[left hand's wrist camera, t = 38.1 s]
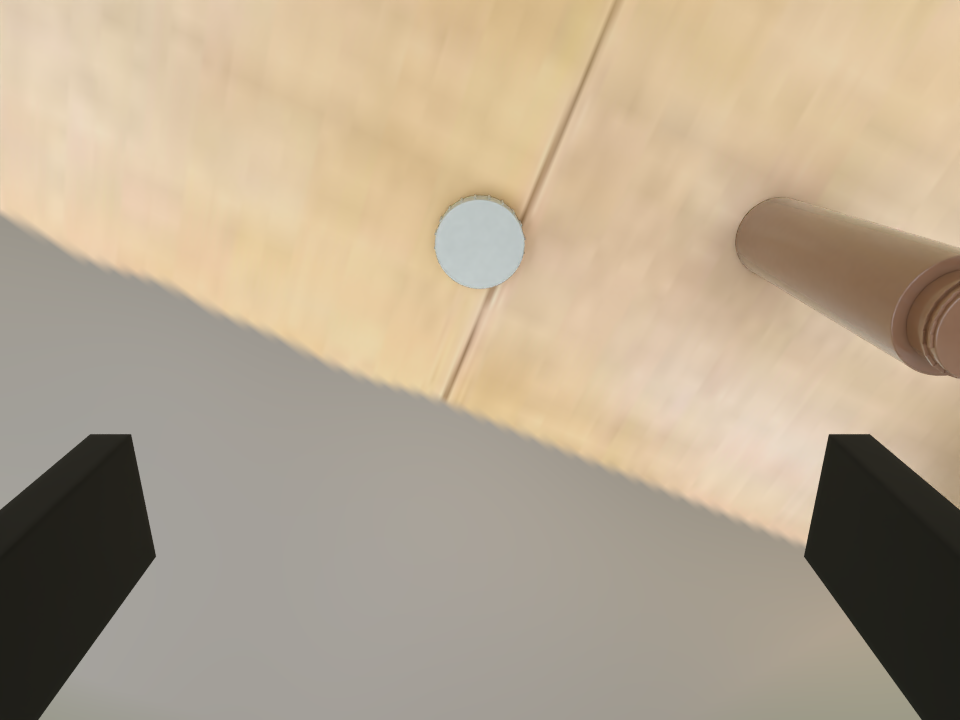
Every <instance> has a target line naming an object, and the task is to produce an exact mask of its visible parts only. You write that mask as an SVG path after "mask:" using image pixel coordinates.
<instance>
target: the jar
mask: <svg viewBox="0 0 960 720" xmlns="http://www.w3.org/2000/svg"><path fill="white" fill-rule="evenodd" d="M736 250H737V254H738V256H739V259H740V260H741V262H742V263H743V265H744V266H745V267H746V268H747V269H749V270H750V271H752V272H753V273H755V274H757V275H758V276H760V277H762V278H763V279H765V280H766V281H768V282H770V283H771V284H773V285H775V286H776V287H778V288H780V289H781V290H783V291H785V292H786V293H788V294H790V295H791V296H793V297H795V298H796V299H798V300H800V301H801V302H803V303H804V304H806V305H808V306H809V307H811V308H813V309H814V310H816V311H818V312H819V313H821V314H823V315H824V316H826V317H828V318H829V319H831V320H833V321H834V322H836V323H838V324H839V325H841V326H842V327H844V328H846V329H847V330H849V331H851V332H852V333H854V334H856V335H857V336H859V337H861V338H862V339H864V340H866V341H867V342H869V343H871V344H872V345H874V346H876V347H877V348H879V349H880V350H882V351H884V352H885V353H887V354H889V355H890V356H892V357H894V358H895V359H897V360H899V361H900V362H902V363H904V364H905V365H907V366H909V367H910V368H912V369H914V370H916V371H918V372H920V373H924V374H928V375H935V376H946V375H949V376H952V377H955V378H960V248H959V247H955V246H952V245H948V244H945V243H942V242H938V241H935V240H931V239H928V238H925V237H921V236H918V235H914V234H911V233H908V232H904V231H901V230H897V229H894V228H891V227H887V226H884V225H880V224H877V223H873V222H870V221H867V220H863V219H860V218H856V217H853V216H850V215H846V214H843V213H839V212H836V211H833V210H829V209H826V208H822V207H819V206H816V205H812V204H809V203H805V202H802V201H798V200H795V199H791V198H786V197H778V198H772V199H768V200H766V201H763V202H762V203H760V204H758V205H757V206H755V207H754V208H753V209H752V210H750V211H749V212H748V214H747V215H746V216H745V217H744V219H743V220H742V222H741V224H740V226H739V229H738V232H737V236H736Z"/></svg>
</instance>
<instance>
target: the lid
mask: <svg viewBox="0 0 960 720" xmlns="http://www.w3.org/2000/svg"><path fill="white" fill-rule="evenodd" d="M521 226H522V224H521V221H519V220H518V218H517V216H516V215H515V212H514V210H513V209H512V210H511V208H510V207H508V206H507V205H506V204H505V203H504V202H503V200H501V201H500V200H498V199H496V198H493V197H490V195H488V196H482V195H477V196H476V194H474V196H470V197H467V198H464V199H463V198H461V200H460V201H458V202H456V203H455V204H453V205H452V206H451V205H450V206H449V208H448V210H447V211H446V213H445V214H444V216H443V217H442V216H441V218H440V224H439V226H438V229H436V232H435V235H436V238H435V247H434V249H435V251H436V255H437V259H438V262H439V264H440V265H441V267H442V269H443V270H444V272H445V273H446V274H447V275H448V276H449V277H450V278H451V279H453V280H454V281H455V282H457V283H459V284H461V285H463V286H466V287H469V288H475V289H484V288H490V287H494V286H496V285H499V284H501V283H503V282H504V281H506V280H507V279H508V278H509V277H510V276H512V274H513V273H514V272H515V271H516V270H517V268H518V267H519V265H520V263H521V260H522V257H523V254H524V245H525V243H524V240H525V236H524V234H523V231H522V228H521Z"/></svg>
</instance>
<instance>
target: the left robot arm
mask: <svg viewBox="0 0 960 720" xmlns="http://www.w3.org/2000/svg"><path fill="white" fill-rule="evenodd" d="M155 557H156V554H155V549H154V545H153V540H152V535H151V530H150V525H149V520H148V515H147V510H146V505H145V500H144V496H143V491H142V486H141V481H140V476H139V471H138V466H137V461H136V456H135V451H134V447H133V442H132V437H131V434H90V435H89V436H88V437H87V438H85V439H84V440H83V441H82V442H81V443H79V444H78V445H77V446H76V447H75V448H73V449H72V450H71V451H70V452H69V453H67V454H66V455H65V456H64V457H63V458H62V459H60V460H59V461H58V462H57V463H56V464H54V465H53V466H52V467H51V468H50V469H48V470H47V471H46V472H45V473H44V474H42V475H41V476H40V477H39V478H38V479H37V480H35V481H34V482H33V483H32V484H31V485H29V486H28V487H27V488H26V489H25V490H23V491H22V492H21V493H20V494H19V495H18V496H16V497H15V498H14V499H13V500H12V501H10V502H9V503H8V504H7V505H6V506H4V507H3V508H2V509H1V510H0V720H38V719H39V718H40V717H41V715H42V714H43V712H44V711H45V710H46V708H47V707H48V705H49V704H50V703H51V701H52V700H53V699H54V697H55V696H56V694H57V693H58V692H59V690H60V689H61V687H62V686H63V685H64V683H65V682H66V680H67V679H68V678H69V676H70V675H71V673H72V672H73V671H74V669H75V668H76V667H77V665H78V664H79V662H80V661H81V660H82V658H83V657H84V656H85V654H86V653H87V651H88V650H89V649H90V647H91V646H92V644H93V643H94V642H95V640H96V639H97V637H98V636H99V635H100V633H101V632H102V631H103V629H104V628H105V626H106V625H107V624H108V622H109V621H110V619H111V618H112V617H113V615H114V614H115V612H116V611H117V610H118V608H119V607H120V606H121V604H122V603H123V601H124V600H125V599H126V597H127V596H128V594H129V593H130V592H131V590H132V589H133V588H134V586H135V585H136V583H137V582H138V581H139V579H140V578H141V576H142V575H143V574H144V572H145V571H146V570H147V568H148V567H149V565H150V564H151V563H152V561H153V560H154V558H155ZM804 557H805V558H806V560H807V561H808V563H809V564H810V565H811V567H812V568H813V570H814V571H815V572H816V574H817V575H818V576H819V578H820V579H821V581H822V582H823V583H824V585H825V586H826V588H827V589H828V590H829V592H830V593H831V595H832V596H833V597H834V599H835V600H836V601H837V603H838V604H839V606H840V607H841V608H842V610H843V611H844V613H845V614H846V615H847V617H848V618H849V619H850V621H851V622H852V624H853V625H854V626H855V628H856V629H857V631H858V632H859V633H860V635H861V636H862V637H863V639H864V640H865V642H866V643H867V644H868V646H869V647H870V649H871V650H872V651H873V653H874V654H875V656H876V657H877V658H878V660H879V661H880V662H881V664H882V665H883V667H884V668H885V669H886V671H887V672H888V674H889V675H890V676H891V678H892V679H893V680H894V682H895V683H896V685H897V686H898V687H899V689H900V690H901V691H902V693H903V694H904V696H905V697H906V698H907V700H908V701H909V703H910V704H911V705H912V707H913V708H914V710H915V711H916V712H917V714H918V715H919V717H920V718H921V719H922V720H960V510H959V509H958V508H957V507H956V506H954V505H953V504H952V503H951V502H950V501H948V500H947V499H946V498H945V497H944V496H943V495H941V494H940V493H939V492H938V491H937V490H935V489H934V488H933V487H932V486H931V485H929V484H928V483H927V482H926V481H925V480H923V479H922V478H921V477H920V476H919V475H918V474H916V473H915V472H914V471H913V470H912V469H910V468H909V467H908V466H907V465H906V464H904V463H903V462H902V461H901V460H900V459H898V458H897V457H896V456H895V455H894V454H893V453H891V452H890V451H889V450H888V449H887V448H885V447H884V446H883V445H882V444H881V443H879V442H878V441H877V440H876V439H875V438H873V437H872V436H871V435H870V434H829V437H828V442H827V447H826V451H825V456H824V461H823V466H822V471H821V476H820V481H819V486H818V491H817V496H816V500H815V505H814V510H813V515H812V520H811V525H810V530H809V535H808V540H807V545H806V549H805V555H804Z"/></svg>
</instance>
